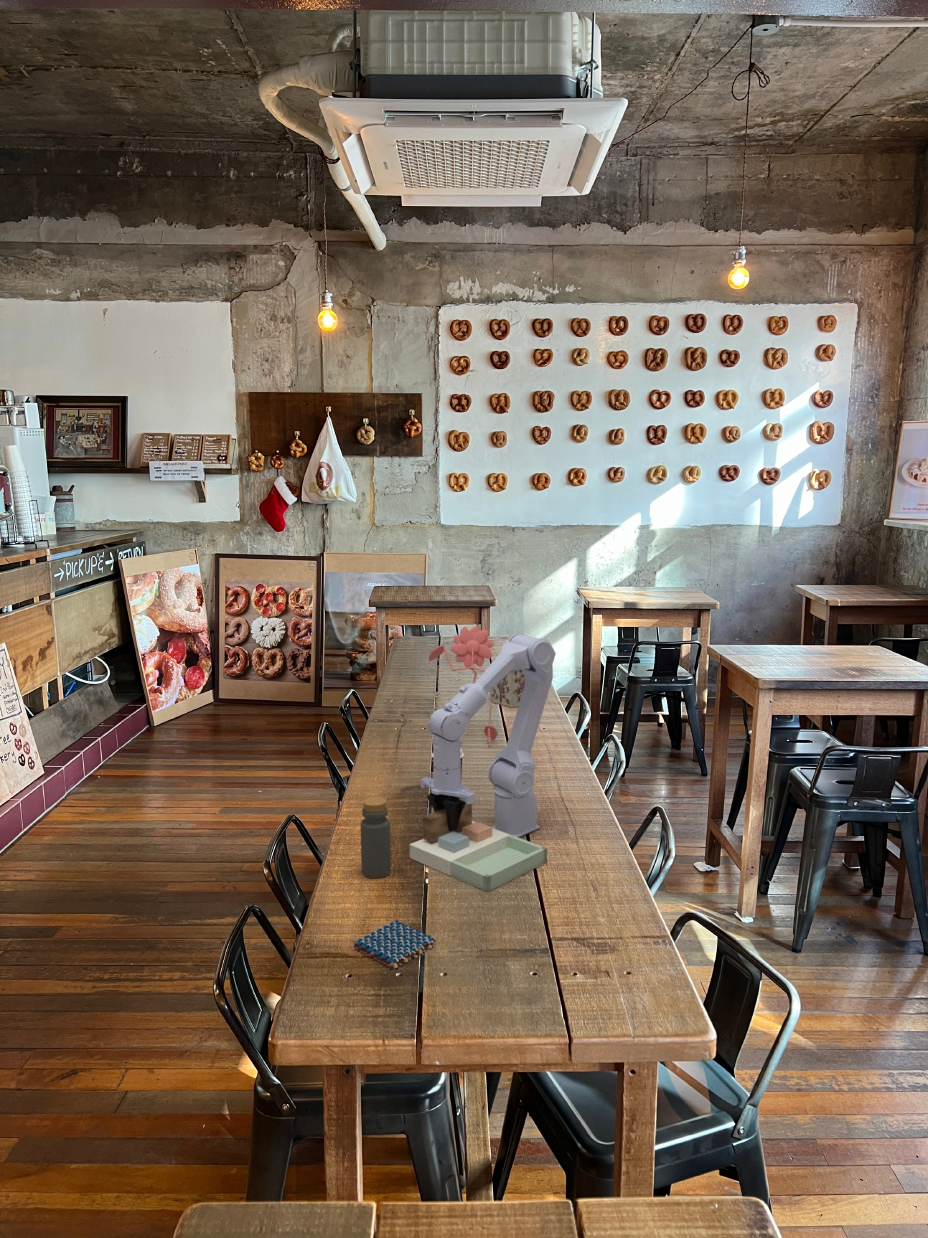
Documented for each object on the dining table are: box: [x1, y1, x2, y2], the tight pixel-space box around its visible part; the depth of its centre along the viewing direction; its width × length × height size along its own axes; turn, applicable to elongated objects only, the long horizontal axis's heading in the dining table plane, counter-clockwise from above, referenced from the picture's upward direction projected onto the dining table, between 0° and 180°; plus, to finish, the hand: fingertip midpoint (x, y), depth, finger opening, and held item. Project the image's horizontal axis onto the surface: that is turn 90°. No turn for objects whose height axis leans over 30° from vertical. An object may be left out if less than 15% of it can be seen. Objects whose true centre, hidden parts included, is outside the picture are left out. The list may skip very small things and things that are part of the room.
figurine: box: [428, 626, 498, 748], centre depth 259 cm, size 15×26×35 cm, turn 94°
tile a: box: [462, 821, 492, 843], centre depth 184 cm, size 4×4×2 cm
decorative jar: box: [489, 669, 526, 709], centre depth 304 cm, size 12×12×18 cm
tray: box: [449, 835, 548, 893], centre depth 175 cm, size 18×10×3 cm, turn 136°
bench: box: [409, 820, 510, 876], centre depth 183 cm, size 18×12×3 cm, turn 136°
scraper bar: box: [422, 803, 473, 842], centre depth 185 cm, size 12×2×5 cm, turn 136°
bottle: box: [360, 796, 392, 879], centre depth 173 cm, size 6×6×15 cm
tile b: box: [438, 831, 469, 853], centre depth 179 cm, size 4×4×2 cm
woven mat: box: [353, 919, 436, 970], centre depth 147 cm, size 10×11×2 cm
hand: (448, 827), depth 185 cm, fingers closed on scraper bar, 2 cm apart
